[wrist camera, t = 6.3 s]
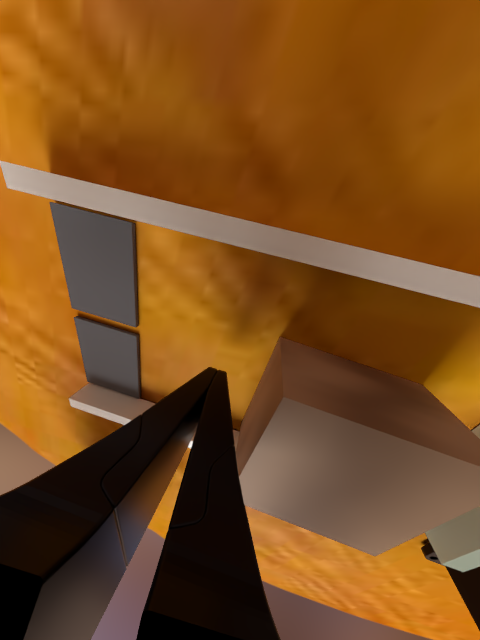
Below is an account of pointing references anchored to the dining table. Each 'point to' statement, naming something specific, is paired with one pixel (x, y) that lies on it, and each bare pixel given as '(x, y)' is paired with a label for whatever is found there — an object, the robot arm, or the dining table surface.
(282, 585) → the dining table surface
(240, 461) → the walnut block
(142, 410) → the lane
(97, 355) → the pads
